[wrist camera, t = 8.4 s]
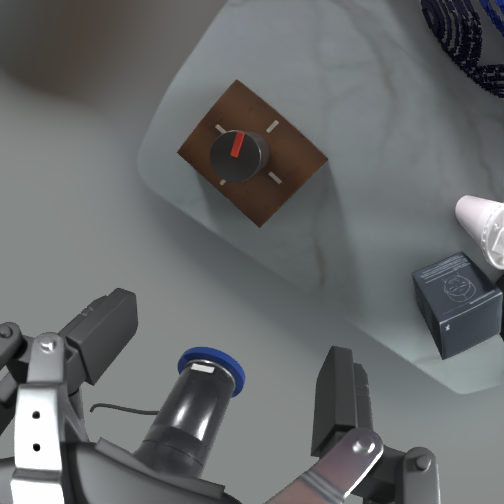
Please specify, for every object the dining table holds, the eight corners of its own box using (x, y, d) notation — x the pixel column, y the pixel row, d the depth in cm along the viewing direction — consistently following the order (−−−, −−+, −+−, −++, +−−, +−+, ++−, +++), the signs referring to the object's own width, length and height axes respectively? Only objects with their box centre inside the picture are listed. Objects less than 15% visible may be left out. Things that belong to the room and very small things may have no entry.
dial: (262, 180, 28) (251, 190, 23) (221, 167, 28) (202, 174, 23) (276, 139, 26) (267, 139, 21) (233, 126, 26) (215, 124, 22)
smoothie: (438, 197, 27) (504, 241, 14) (477, 175, 24) (552, 206, 12) (454, 244, 28) (511, 305, 16) (491, 222, 26) (557, 270, 13)
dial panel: (264, 219, 33) (259, 228, 30) (188, 150, 31) (175, 152, 28) (327, 157, 28) (328, 159, 26) (243, 84, 27) (236, 78, 24)
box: (418, 307, 32) (442, 362, 23) (410, 272, 31) (438, 323, 21) (467, 286, 30) (501, 333, 20) (463, 249, 28) (503, 291, 19)
